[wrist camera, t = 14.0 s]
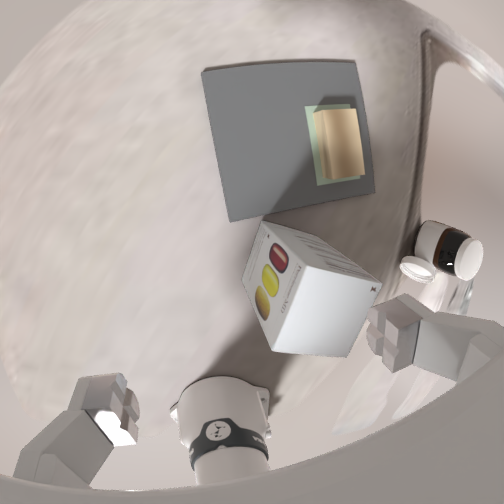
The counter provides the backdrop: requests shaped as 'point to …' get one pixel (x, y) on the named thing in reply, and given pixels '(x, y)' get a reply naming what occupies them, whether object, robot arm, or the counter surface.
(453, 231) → the spread jar
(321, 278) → the supplement box
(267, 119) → the rubber mat
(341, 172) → the maple card box
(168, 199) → the counter surface
